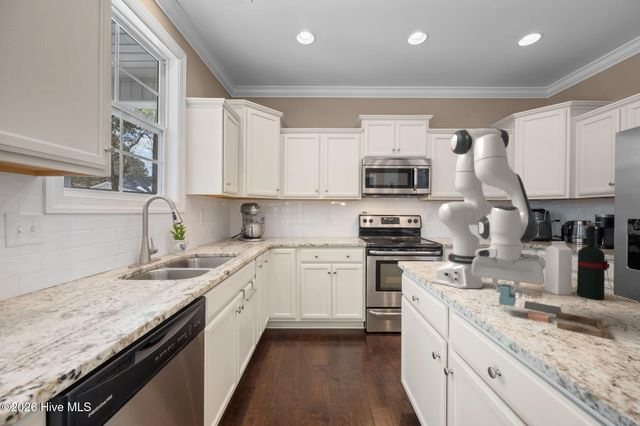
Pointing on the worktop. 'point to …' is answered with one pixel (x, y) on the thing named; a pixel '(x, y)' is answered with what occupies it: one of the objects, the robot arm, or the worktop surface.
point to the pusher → (506, 296)
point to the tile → (538, 316)
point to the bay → (580, 329)
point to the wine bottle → (591, 269)
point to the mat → (542, 307)
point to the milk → (558, 268)
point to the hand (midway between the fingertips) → (505, 293)
